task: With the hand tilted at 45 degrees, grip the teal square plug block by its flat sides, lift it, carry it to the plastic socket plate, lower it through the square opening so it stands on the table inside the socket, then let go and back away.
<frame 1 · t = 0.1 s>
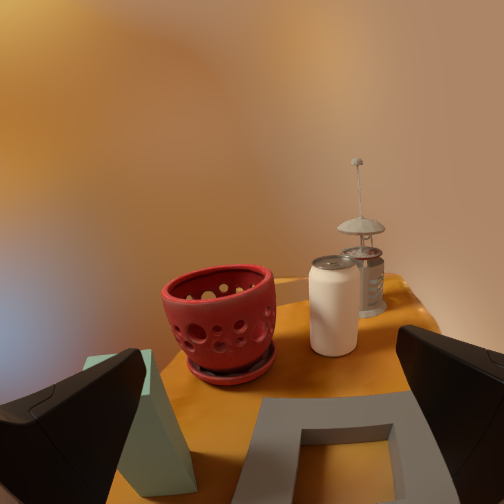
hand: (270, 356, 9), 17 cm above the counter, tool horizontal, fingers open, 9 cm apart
french press: (361, 304, 47), on the counter
plant pot: (230, 364, 35), on the counter
plug block: (166, 473, 18), on the counter
socket plate: (345, 478, 16), on the counter
can: (333, 346, 36), on the counter
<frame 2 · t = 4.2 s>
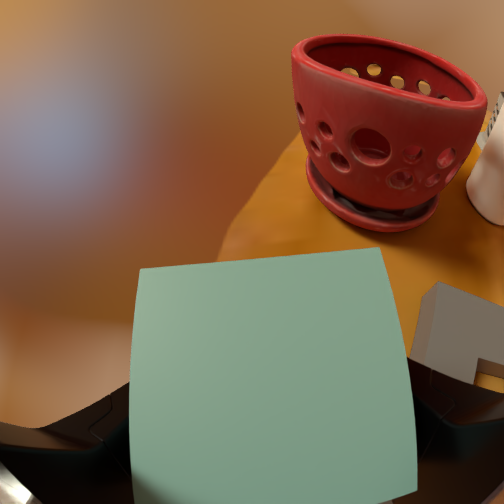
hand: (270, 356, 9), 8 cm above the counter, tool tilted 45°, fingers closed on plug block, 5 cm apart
french press: (503, 153, 25), on the counter
plant pot: (366, 185, 22), on the counter
plug block: (275, 401, 14), on the counter, touching gripper
socket plate: (481, 429, 11), on the counter
can: (487, 203, 20), on the counter
when the fingers open (9 cm above the counter, at t = 9.3 s): plug block drops 1 cm, resting in socket plate.
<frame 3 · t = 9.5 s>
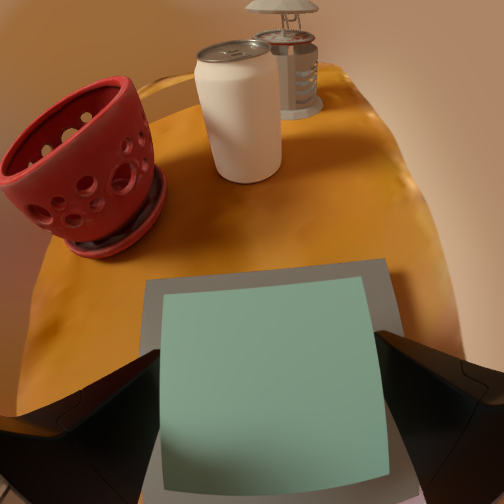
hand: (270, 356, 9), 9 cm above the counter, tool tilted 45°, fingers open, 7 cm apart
french press: (287, 99, 34), on the counter
plant pot: (115, 215, 25), on the counter
plug block: (275, 401, 16), resting in socket plate
socket plate: (276, 401, 16), on the counter
can: (249, 164, 27), on the counter
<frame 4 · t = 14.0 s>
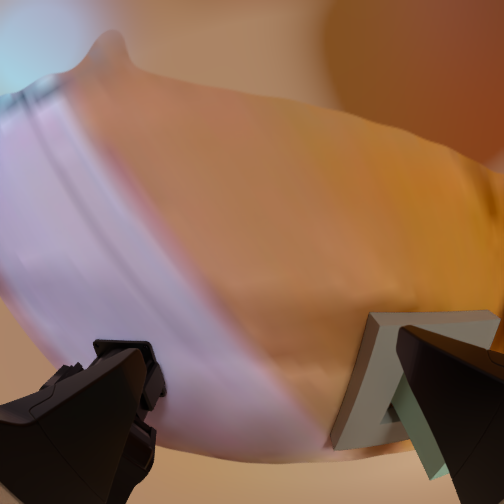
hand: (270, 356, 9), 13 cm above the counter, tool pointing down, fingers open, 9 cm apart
plug block: (415, 378, 24), resting in socket plate
socket plate: (415, 378, 24), on the counter
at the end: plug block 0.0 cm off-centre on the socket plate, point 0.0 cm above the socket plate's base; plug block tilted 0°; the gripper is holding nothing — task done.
